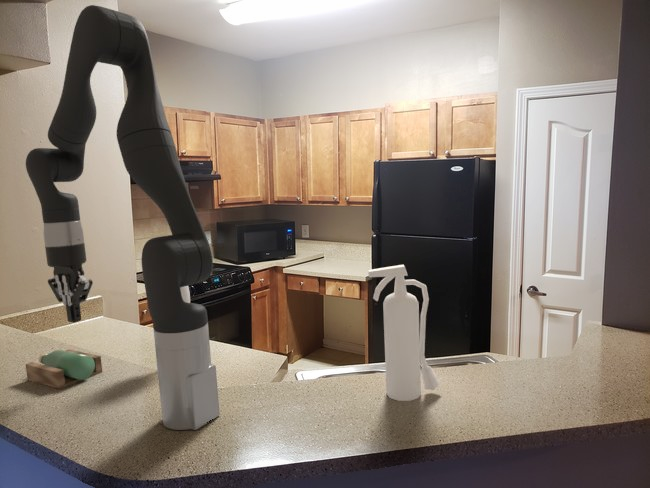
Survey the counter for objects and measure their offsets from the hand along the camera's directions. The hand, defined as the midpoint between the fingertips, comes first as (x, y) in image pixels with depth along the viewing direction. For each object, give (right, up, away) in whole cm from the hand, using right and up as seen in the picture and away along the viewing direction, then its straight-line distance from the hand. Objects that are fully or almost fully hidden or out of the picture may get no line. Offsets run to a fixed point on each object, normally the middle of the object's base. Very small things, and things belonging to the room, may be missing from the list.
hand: (74, 321), depth 108 cm
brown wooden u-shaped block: (-5, -13, +5) cm, 15 cm away
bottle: (+2, -10, +1) cm, 10 cm away
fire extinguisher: (+70, -12, -13) cm, 73 cm away
